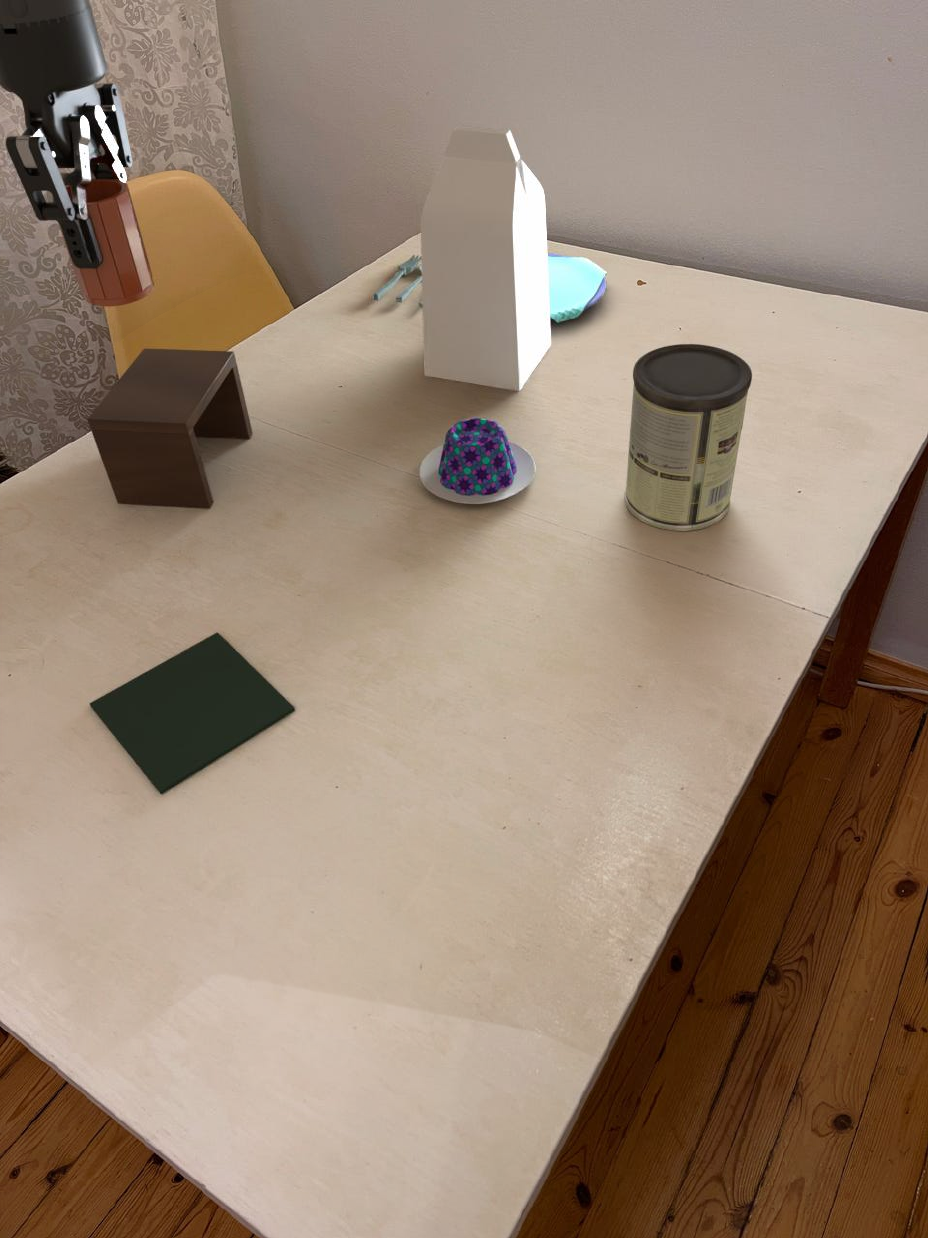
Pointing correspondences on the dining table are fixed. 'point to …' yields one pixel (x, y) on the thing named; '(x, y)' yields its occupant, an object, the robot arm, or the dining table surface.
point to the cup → (114, 247)
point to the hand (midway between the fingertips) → (106, 248)
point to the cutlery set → (567, 277)
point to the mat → (190, 711)
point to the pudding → (477, 464)
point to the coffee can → (685, 435)
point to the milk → (484, 264)
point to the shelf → (168, 425)
